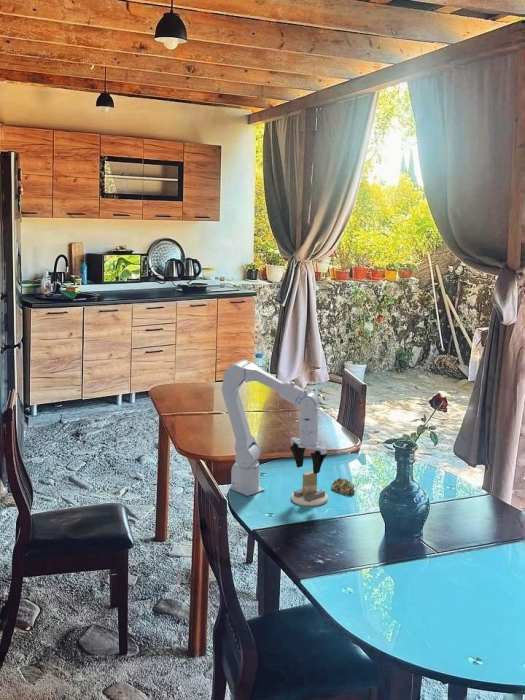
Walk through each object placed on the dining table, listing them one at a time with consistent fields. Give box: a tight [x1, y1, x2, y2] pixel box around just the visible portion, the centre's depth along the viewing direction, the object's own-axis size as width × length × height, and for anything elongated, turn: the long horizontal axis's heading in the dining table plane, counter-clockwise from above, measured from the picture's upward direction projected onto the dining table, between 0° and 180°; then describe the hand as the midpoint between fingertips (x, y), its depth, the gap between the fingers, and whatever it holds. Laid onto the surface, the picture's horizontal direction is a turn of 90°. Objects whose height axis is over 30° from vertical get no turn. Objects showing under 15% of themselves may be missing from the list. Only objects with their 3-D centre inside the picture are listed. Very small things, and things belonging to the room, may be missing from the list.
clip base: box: [290, 488, 329, 507], centre depth 239 cm, size 12×12×2 cm
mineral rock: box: [330, 477, 356, 496], centre depth 247 cm, size 11×4×8 cm
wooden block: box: [302, 470, 318, 498], centre depth 238 cm, size 2×5×8 cm, turn 131°
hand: (308, 469), depth 238 cm, fingers open, 7 cm apart
